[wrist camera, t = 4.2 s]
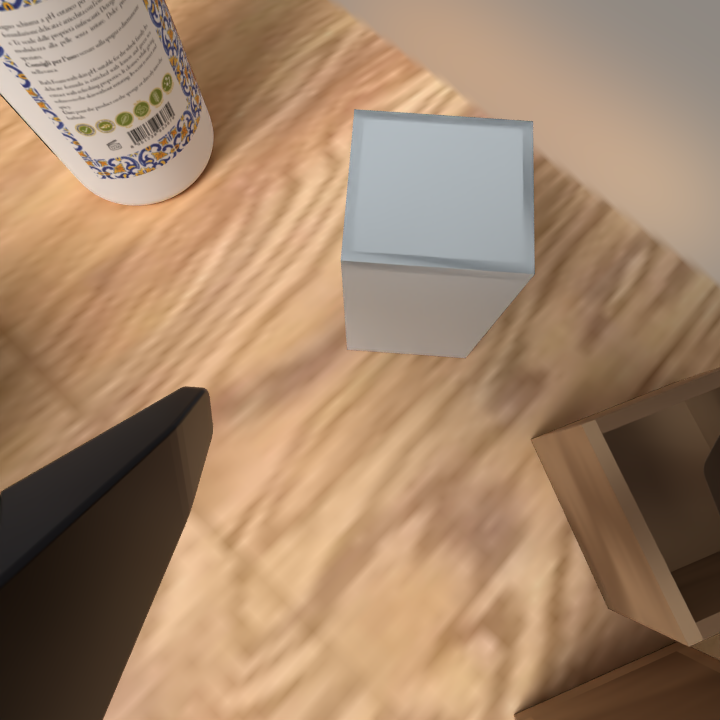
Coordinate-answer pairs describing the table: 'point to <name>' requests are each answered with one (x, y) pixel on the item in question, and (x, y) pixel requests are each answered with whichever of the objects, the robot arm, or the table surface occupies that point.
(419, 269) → the pale grey square pillar
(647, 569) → the box
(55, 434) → the table surface
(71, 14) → the bath foam
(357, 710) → the table surface
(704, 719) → the box
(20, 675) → the robot arm
